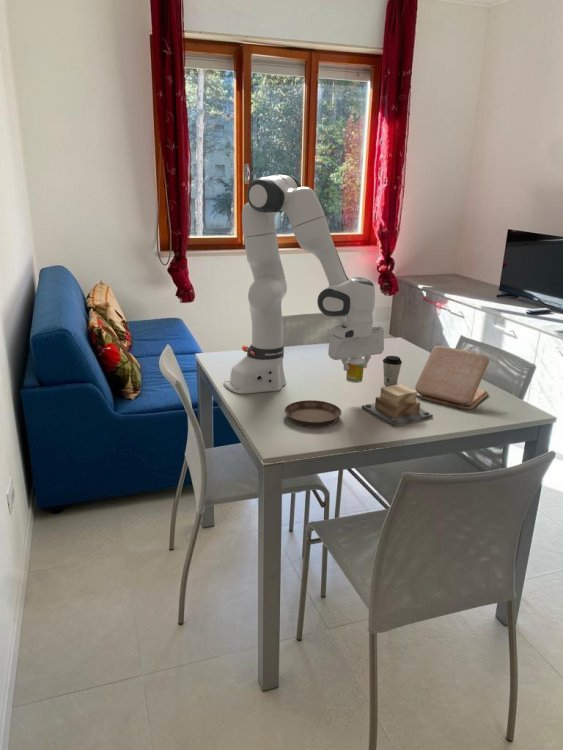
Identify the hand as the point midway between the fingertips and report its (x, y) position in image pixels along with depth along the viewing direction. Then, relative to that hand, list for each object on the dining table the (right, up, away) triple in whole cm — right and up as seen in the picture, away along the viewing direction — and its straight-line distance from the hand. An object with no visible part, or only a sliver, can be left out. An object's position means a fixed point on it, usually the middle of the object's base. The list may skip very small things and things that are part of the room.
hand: (355, 369), depth 194 cm
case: (+35, -10, +12) cm, 39 cm away
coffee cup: (+16, -5, +22) cm, 27 cm away
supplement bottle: (0, -4, +1) cm, 4 cm away
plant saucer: (-15, -16, -10) cm, 24 cm away
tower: (+13, -14, -5) cm, 20 cm away
